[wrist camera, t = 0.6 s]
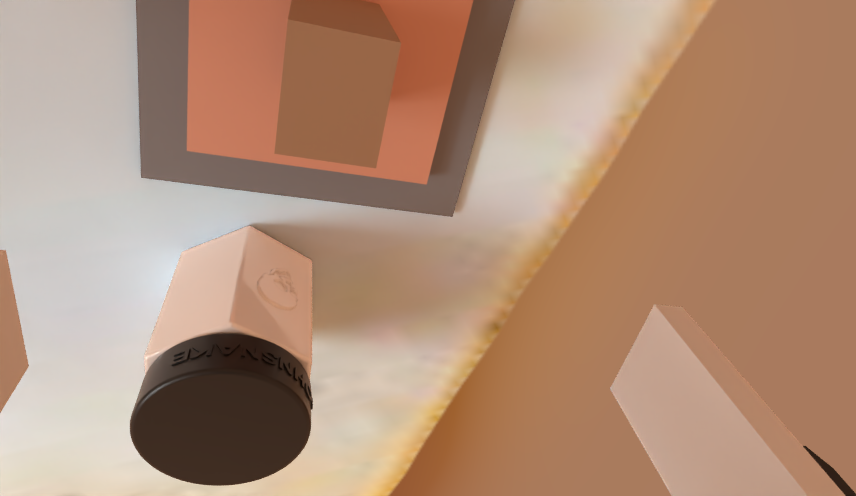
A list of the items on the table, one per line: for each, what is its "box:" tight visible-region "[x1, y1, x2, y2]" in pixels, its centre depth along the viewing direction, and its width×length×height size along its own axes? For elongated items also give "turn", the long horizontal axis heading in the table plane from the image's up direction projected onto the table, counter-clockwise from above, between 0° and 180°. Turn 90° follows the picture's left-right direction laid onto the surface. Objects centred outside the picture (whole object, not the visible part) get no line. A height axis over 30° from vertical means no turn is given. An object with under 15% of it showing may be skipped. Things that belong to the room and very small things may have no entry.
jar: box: [130, 226, 313, 486], centre depth 31 cm, size 9×8×12 cm
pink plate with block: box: [187, 0, 473, 184], centre depth 25 cm, size 13×13×9 cm
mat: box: [136, 0, 515, 217], centre depth 29 cm, size 18×18×1 cm
